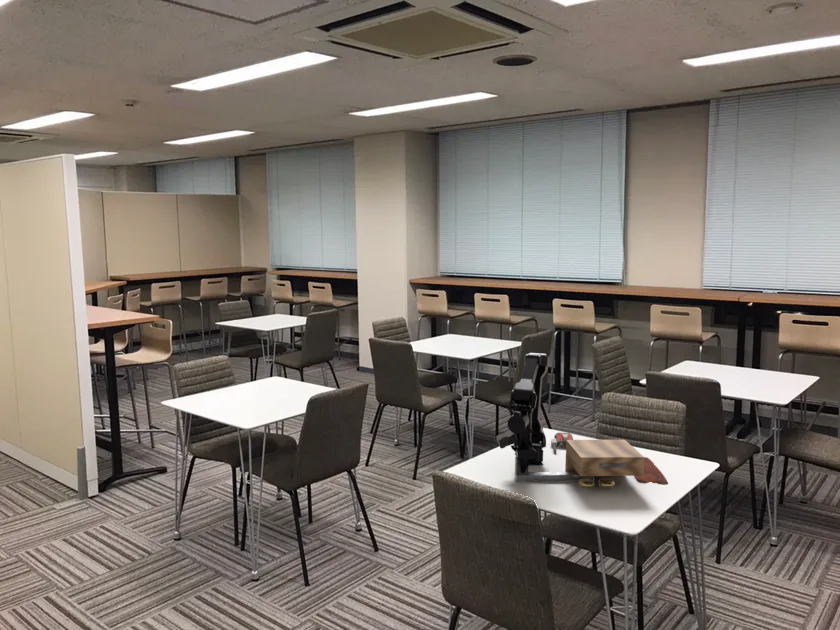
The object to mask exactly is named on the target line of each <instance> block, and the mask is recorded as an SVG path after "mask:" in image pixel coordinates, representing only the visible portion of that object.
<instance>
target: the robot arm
mask: <svg viewBox="0 0 840 630" xmlns="http://www.w3.org/2000/svg"><path fill="white" fill-rule="evenodd" d="M523 358H524V359H523V365H524V367H523V371H522V374H521V378H520V381H518V382H516V383H515V385H514V387H513V389H512V390H511V392H510V393H511V394H510V398H509V404H508V410H509V411H512V415H511V416H510V417H509V418H508V421H507V428H508V429H509V431H506V432H503V433H500V434H498V435H496V436H495V438H496V441H497V443H498V446H499V449H505V448H506V447H508V446H509V447H510V448H511V449H512V450H513V451H514V455H515V457H517V458H518V459H519V463H520V470H521V473H525V471H526V469H527V467H528V465H529V466H532V465H534V466H535V465H538V466H540V465H544V464H543V461H544V450H543V449H544V448H547V437H546V433H545V431H544V427H543V424H542V421H541V420H540V415H541V414H540V413H541V411H540V410H541V400H542V399H541V398H542V389H543V387H542V386H543V378H544V377H545V376H546V375H547V373H548V368H549V367H550V363H551V358H550V356H548V353H547V354H546V353H541V352H540V353H538V352H529V353H526V354H524V357H523Z"/></svg>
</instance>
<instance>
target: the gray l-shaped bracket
mask: <svg viewBox="0 0 840 630" xmlns="http://www.w3.org/2000/svg"><path fill="white" fill-rule="evenodd" d="M514 463H515V464H514V480H516V481H515V482H516V483H541V482H542V483H543V482H544V483H547V482H548V483H549V482H550V483H551V482H554V483H555V482H579V480H580V479H584V478H586V479H591V480H593V481H594V482H595V476H580V475H579V474H578V472H565V471H533V472H532V471H529V466H530V465H528V467H527V469H526V471H525V473H521V470H520V463H519V459H518V458H517V457H516V456H515V458H514ZM522 481H523V482H522ZM524 481H526V482H524Z"/></svg>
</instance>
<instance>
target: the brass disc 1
mask: <svg viewBox="0 0 840 630" xmlns="http://www.w3.org/2000/svg"><path fill="white" fill-rule="evenodd" d="M578 486H580V487H582V488H586V489H591V488H594V487H595V480H594V481H593V480H591V479H586V478H584V479H580V480H579V481H578Z"/></svg>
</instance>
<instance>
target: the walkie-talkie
mask: <svg viewBox="0 0 840 630" xmlns="http://www.w3.org/2000/svg"><path fill="white" fill-rule="evenodd" d="M553 437H554V438H552V439H551V440H550V447H551V448H553V452H555V453H557V447H558V449H566V440H574V438H573V437H574V436H573V434H572V433H570V432H556V433H555V434H554V436H553Z"/></svg>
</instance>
